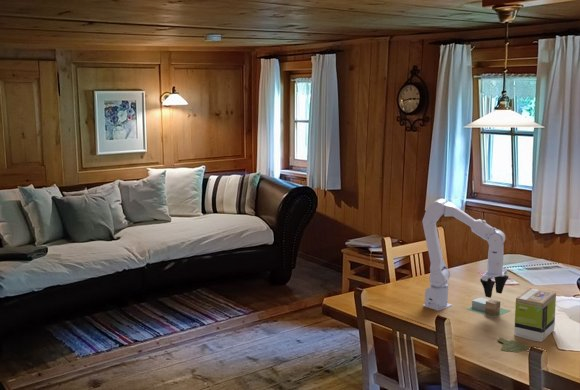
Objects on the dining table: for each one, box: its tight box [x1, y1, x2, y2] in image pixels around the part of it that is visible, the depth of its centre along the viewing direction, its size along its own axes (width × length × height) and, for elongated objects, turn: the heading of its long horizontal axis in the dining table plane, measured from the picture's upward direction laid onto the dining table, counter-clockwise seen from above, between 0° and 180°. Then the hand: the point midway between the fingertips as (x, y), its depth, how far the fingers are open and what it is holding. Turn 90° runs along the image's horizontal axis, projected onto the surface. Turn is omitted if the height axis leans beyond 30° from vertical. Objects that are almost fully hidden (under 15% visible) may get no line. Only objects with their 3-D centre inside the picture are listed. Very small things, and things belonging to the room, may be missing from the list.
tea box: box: [513, 287, 557, 343], centre depth 232 cm, size 15×10×15 cm
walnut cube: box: [485, 298, 501, 316], centre depth 252 cm, size 4×4×5 cm
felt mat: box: [466, 306, 511, 319], centre depth 257 cm, size 12×13×1 cm
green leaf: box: [497, 337, 531, 354], centre depth 218 cm, size 11×18×1 cm, turn 36°
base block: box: [471, 297, 489, 311], centre depth 259 cm, size 6×6×3 cm
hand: (493, 294), depth 251 cm, fingers open, 7 cm apart
